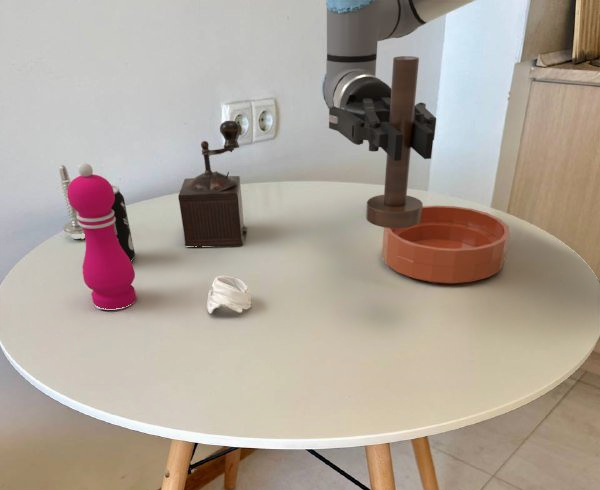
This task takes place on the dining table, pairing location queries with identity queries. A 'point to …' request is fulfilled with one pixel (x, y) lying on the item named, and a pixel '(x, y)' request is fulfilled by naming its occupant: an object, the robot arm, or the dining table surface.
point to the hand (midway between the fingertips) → (413, 146)
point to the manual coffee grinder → (214, 200)
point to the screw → (73, 225)
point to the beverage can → (122, 224)
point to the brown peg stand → (395, 203)
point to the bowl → (448, 245)
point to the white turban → (228, 294)
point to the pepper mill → (101, 241)
